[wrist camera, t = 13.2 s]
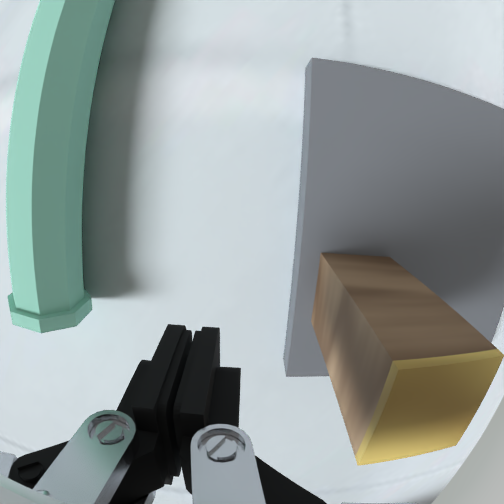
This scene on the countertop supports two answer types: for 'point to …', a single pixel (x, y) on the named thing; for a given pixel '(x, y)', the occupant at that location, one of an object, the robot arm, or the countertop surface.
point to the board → (398, 193)
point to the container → (52, 163)
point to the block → (397, 358)
